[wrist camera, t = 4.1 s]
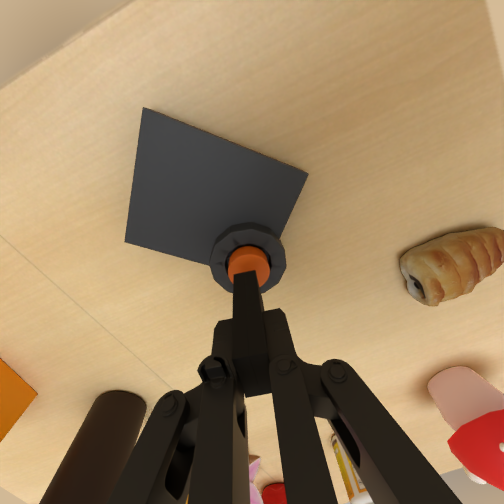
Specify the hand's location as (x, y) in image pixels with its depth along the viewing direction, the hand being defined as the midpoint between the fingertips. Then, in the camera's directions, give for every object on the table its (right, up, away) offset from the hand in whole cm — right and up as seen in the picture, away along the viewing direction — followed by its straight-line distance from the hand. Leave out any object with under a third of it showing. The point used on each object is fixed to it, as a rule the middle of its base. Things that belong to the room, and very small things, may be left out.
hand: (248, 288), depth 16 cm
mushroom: (+29, -16, +18) cm, 37 cm away
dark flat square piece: (-3, +7, +4) cm, 8 cm away
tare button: (0, +2, +3) cm, 3 cm away
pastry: (+19, +2, +8) cm, 21 cm away
